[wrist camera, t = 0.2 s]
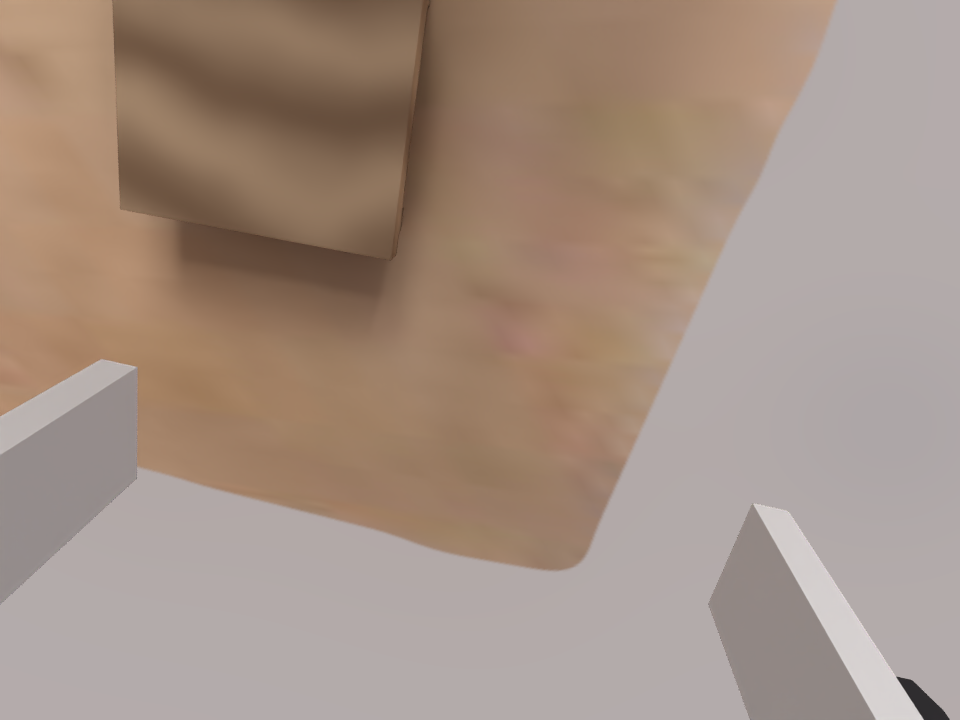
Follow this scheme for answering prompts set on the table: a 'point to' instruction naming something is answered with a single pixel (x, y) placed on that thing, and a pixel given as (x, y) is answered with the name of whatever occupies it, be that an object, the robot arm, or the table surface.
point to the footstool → (270, 115)
